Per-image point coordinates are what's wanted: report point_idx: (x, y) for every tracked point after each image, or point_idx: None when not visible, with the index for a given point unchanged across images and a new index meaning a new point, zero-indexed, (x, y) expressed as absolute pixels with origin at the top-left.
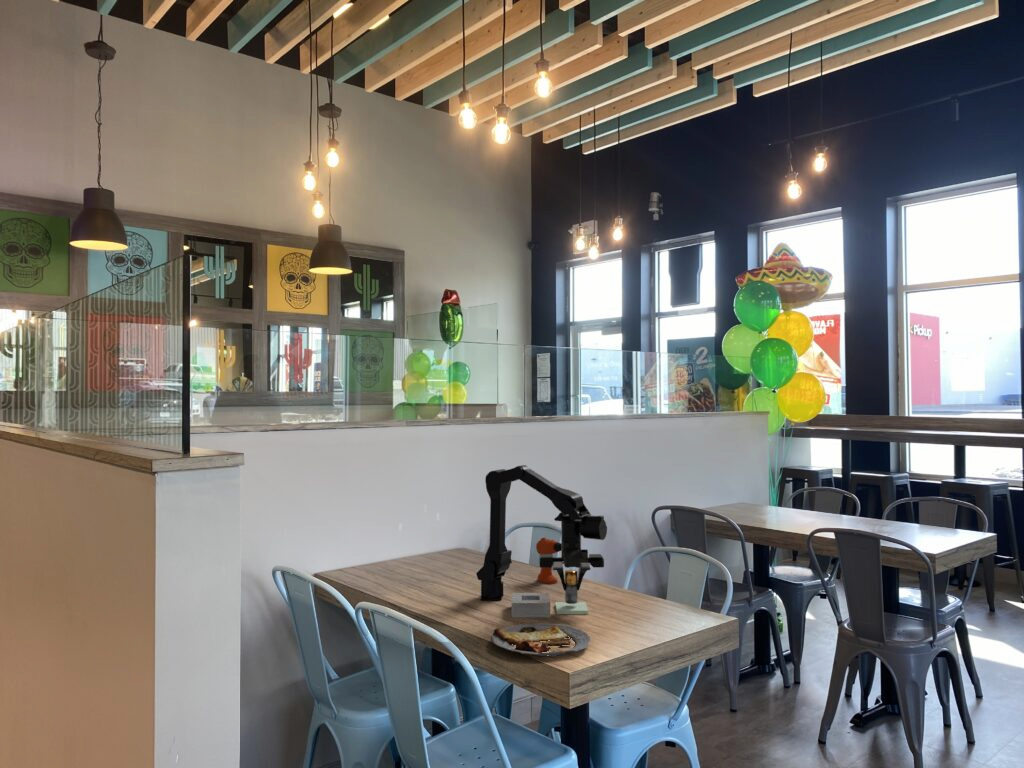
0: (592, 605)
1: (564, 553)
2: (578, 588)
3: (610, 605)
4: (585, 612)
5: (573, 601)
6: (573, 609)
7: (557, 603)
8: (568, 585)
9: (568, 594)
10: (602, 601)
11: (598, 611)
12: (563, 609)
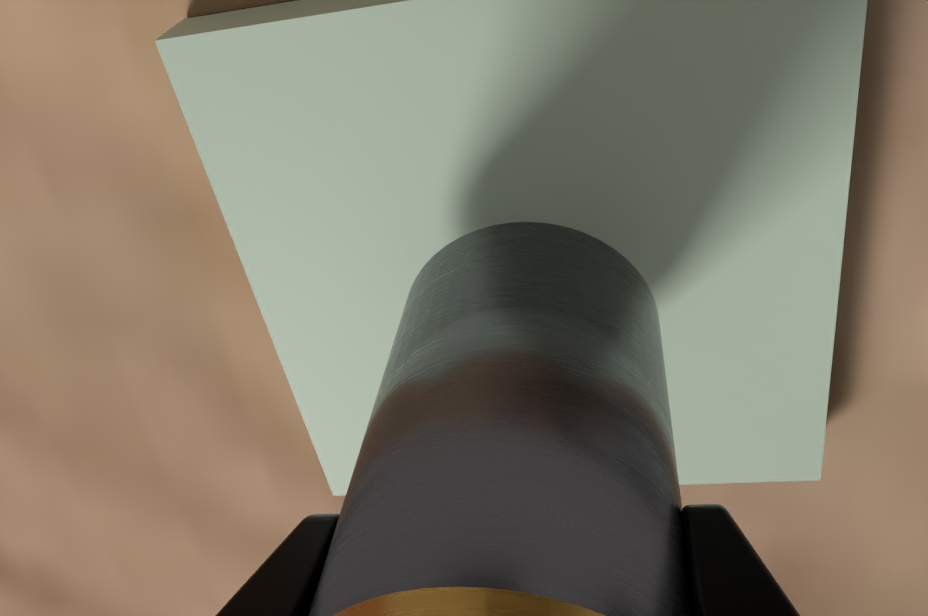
0: (256, 464)
1: None
2: (298, 547)
3: (36, 472)
4: (224, 22)
5: (467, 255)
6: (472, 84)
7: (793, 419)
8: (582, 580)
9: (584, 365)
10: (185, 592)
11: (77, 209)
12: (697, 52)
